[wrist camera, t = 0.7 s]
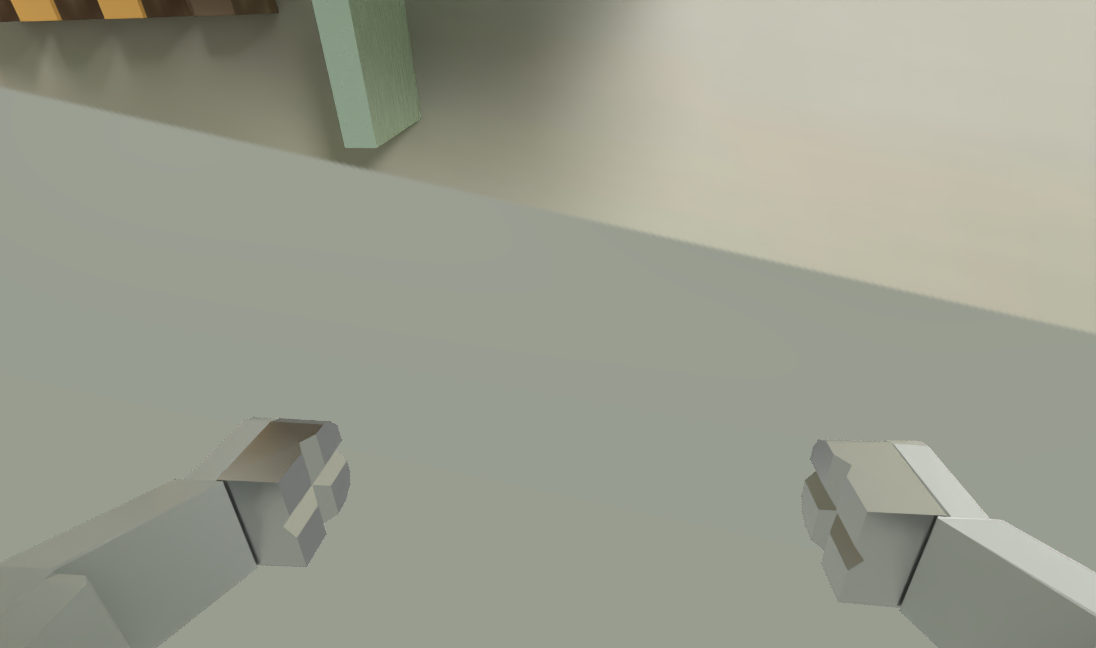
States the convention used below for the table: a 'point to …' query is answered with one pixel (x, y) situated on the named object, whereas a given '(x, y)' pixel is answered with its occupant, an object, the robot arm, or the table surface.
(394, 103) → the panel
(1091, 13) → the table surface
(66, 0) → the rack
